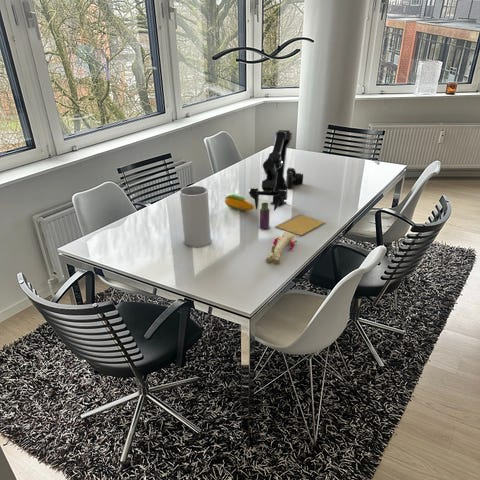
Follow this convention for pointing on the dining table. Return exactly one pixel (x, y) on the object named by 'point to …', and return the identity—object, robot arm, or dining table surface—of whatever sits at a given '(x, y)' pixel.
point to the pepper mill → (264, 216)
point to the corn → (238, 203)
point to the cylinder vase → (195, 215)
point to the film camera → (293, 178)
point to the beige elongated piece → (281, 246)
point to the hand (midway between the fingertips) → (265, 209)
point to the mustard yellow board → (300, 225)
